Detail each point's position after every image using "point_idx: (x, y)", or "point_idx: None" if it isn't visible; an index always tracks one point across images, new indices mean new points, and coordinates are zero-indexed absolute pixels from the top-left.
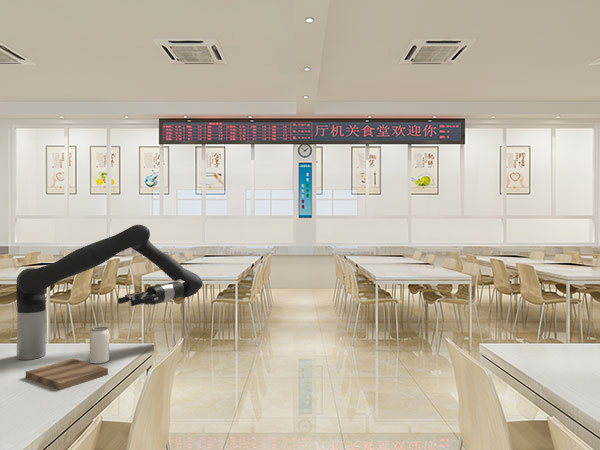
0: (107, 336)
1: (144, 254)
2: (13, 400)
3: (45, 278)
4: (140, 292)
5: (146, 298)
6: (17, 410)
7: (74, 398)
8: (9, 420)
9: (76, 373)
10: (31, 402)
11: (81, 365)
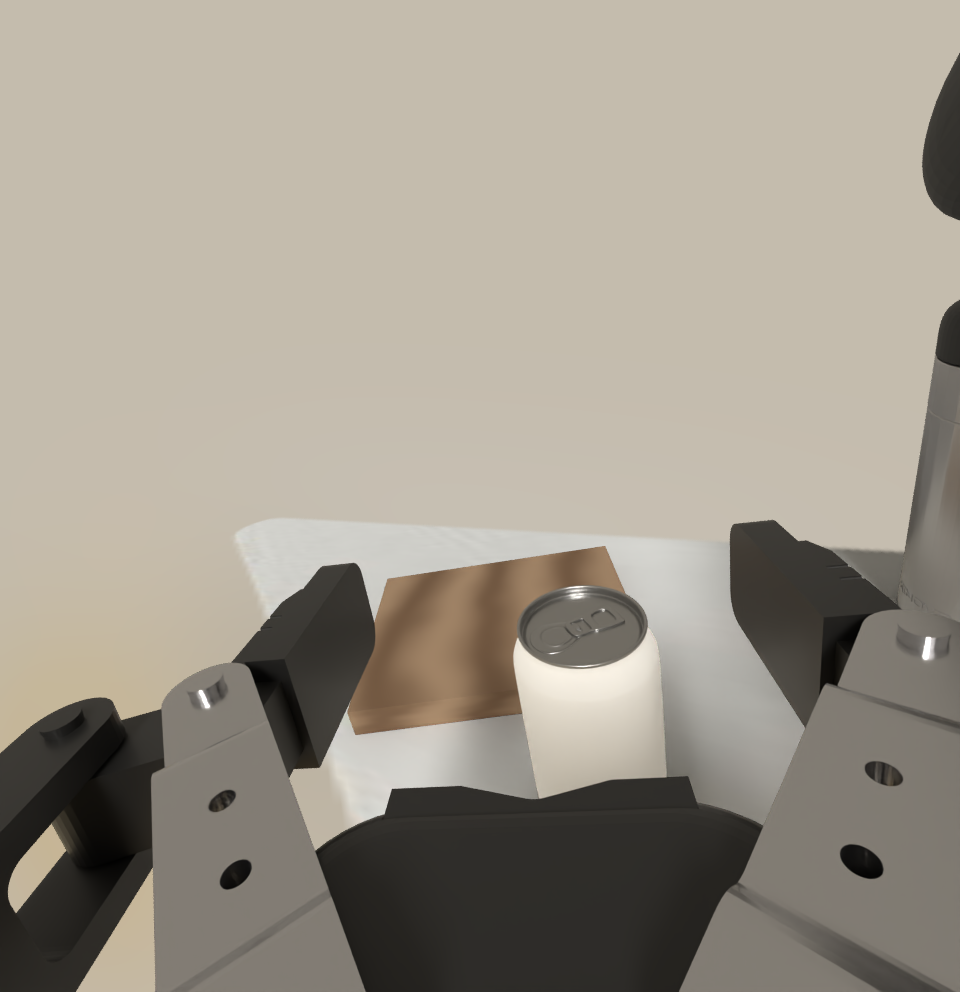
0: (522, 696)
1: None
2: (440, 534)
3: None
4: (846, 973)
5: (50, 723)
6: (375, 534)
7: None
8: (345, 524)
9: (424, 623)
10: (387, 551)
11: (503, 660)
